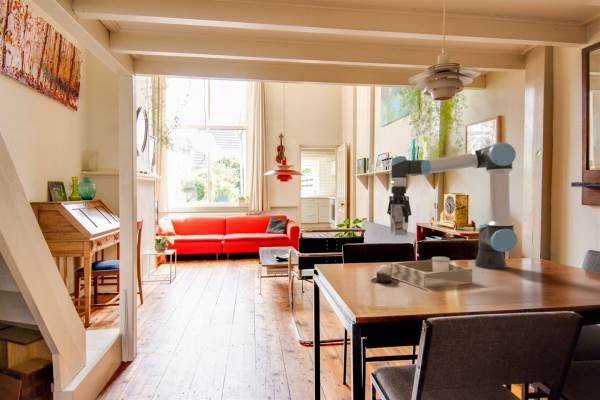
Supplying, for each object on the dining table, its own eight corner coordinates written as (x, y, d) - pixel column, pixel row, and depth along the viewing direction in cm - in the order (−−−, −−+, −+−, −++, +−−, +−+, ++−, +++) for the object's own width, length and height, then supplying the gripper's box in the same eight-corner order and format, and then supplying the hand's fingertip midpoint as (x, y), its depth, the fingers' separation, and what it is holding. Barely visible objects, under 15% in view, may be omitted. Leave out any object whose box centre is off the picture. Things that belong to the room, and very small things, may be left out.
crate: (390, 277, 173) (391, 263, 173) (433, 273, 182) (433, 259, 182) (425, 290, 150) (426, 273, 150) (472, 285, 159) (472, 269, 159)
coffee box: (407, 235, 189) (407, 204, 189) (394, 235, 190) (394, 204, 189) (402, 233, 199) (402, 203, 198) (390, 233, 199) (390, 203, 198)
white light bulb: (428, 276, 170) (428, 257, 170) (441, 275, 173) (441, 256, 173) (439, 280, 163) (439, 260, 163) (453, 278, 166) (453, 258, 166)
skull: (372, 275, 174) (387, 260, 171) (388, 291, 171) (404, 276, 168) (365, 279, 163) (381, 263, 161) (383, 297, 160) (399, 281, 157)
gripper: (380, 186, 203) (380, 226, 203) (406, 185, 182) (406, 230, 182) (392, 186, 206) (392, 226, 206) (418, 185, 184) (419, 229, 185)
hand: (398, 228), depth 194 cm, fingers closed on coffee box, 10 cm apart
